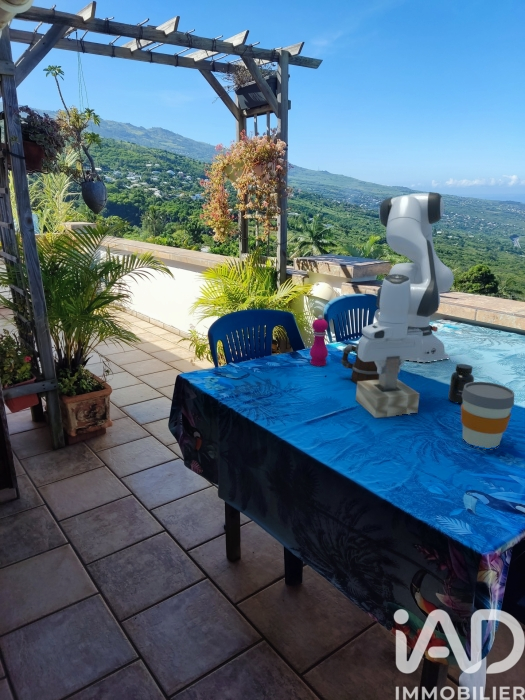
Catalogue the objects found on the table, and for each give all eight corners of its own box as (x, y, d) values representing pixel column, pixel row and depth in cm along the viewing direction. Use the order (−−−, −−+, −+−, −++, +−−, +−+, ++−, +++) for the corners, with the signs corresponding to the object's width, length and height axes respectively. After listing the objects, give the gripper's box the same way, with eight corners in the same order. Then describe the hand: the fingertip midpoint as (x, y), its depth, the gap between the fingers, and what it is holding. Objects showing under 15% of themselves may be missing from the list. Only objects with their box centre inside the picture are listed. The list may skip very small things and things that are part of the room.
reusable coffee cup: (482, 456, 119) (491, 402, 115) (445, 435, 130) (452, 385, 126) (517, 447, 124) (526, 394, 120) (479, 427, 135) (486, 378, 131)
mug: (383, 376, 176) (387, 337, 172) (383, 388, 165) (386, 347, 160) (341, 372, 180) (343, 334, 175) (338, 383, 169) (340, 343, 164)
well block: (394, 396, 157) (396, 378, 155) (417, 413, 144) (419, 393, 142) (355, 400, 154) (357, 381, 152) (375, 417, 141) (377, 397, 139)
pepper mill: (327, 361, 193) (329, 313, 187) (327, 366, 186) (330, 317, 180) (309, 360, 193) (311, 313, 188) (309, 366, 187) (311, 317, 181)
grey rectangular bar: (389, 388, 150) (392, 352, 147) (396, 393, 146) (399, 356, 143) (377, 389, 149) (380, 353, 146) (383, 394, 145) (387, 357, 142)
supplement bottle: (460, 406, 150) (465, 370, 146) (443, 398, 156) (447, 364, 152) (475, 402, 153) (480, 367, 149) (458, 395, 159) (462, 361, 155)
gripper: (417, 325, 147) (413, 367, 151) (357, 328, 143) (354, 371, 147) (428, 330, 141) (423, 373, 145) (366, 333, 137) (362, 378, 141)
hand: (388, 372), depth 146 cm, fingers closed on grey rectangular bar, 4 cm apart
